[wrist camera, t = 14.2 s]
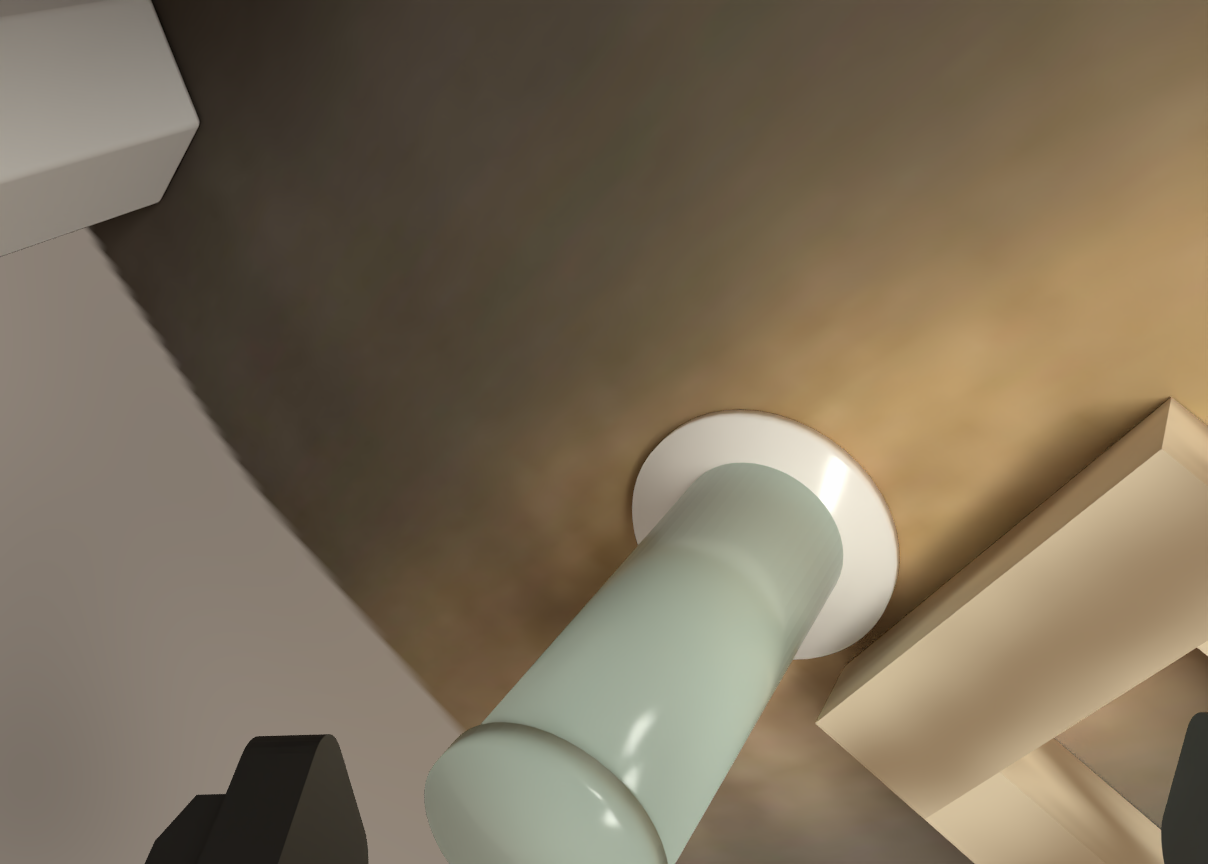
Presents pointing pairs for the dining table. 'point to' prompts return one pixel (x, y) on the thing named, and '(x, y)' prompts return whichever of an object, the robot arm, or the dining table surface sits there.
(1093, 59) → the dining table surface
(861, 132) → the dining table surface
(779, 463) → the saucer
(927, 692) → the wooden square frame
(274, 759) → the robot arm
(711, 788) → the mint green tumbler
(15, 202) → the jar
